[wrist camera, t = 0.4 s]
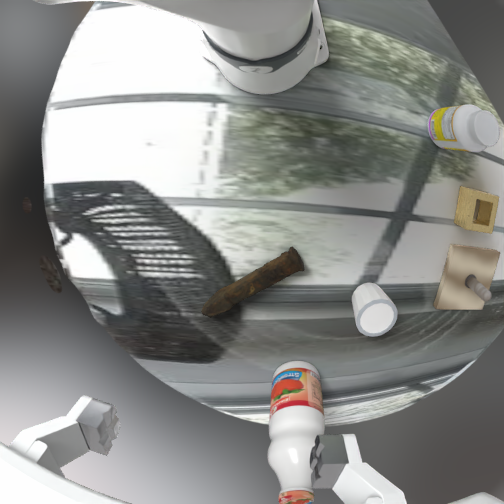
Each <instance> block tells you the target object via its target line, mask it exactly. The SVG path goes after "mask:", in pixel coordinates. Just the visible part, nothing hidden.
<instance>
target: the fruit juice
mask: <svg viewBox="0 0 504 504" xmlns="http://www.w3.org/2000/svg"><path fill="white" fill-rule="evenodd" d="M324 432H325V420H324V410H323V400H322V391H321V381H320V375H319V372H318V370H317V369H316V368H315V367H314V366H313V365H312V364H310V363H308V362H304V361H291V362H287V363H285V364H283V365H281V366H280V367H278V368H277V370H276V371H275V373H274V375H273V379H272V393H271V407H270V420H269V436H270V439H271V441H272V442H271V444H270V446H269V449H268V462H269V464H270V466H271V467H272V469H273V470H274V471H275V473H276V474H277V477H278V479H279V482H280V485H281V489H282V490H281V492H280V493H279V503H280V504H311V503H312V502H313V500H314V493H313V490H312V483H311V474H312V472H313V470H312V469H311V468H310V453H311V450H312V447H313V446H315V438H316V436H317V435H324Z"/></svg>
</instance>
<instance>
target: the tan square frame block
mask: <svg viewBox="0 0 504 504" xmlns="http://www.w3.org/2000/svg"><path fill="white" fill-rule="evenodd" d="M477 199H479V200H480V206H479V211H478V216H477V220H475V219H473V217H474V211H475V206H476V200H477ZM498 201H499V197H498V196H495V195H492V194H490V193H487V192H483V191H479V190H475V189H471V188H467V187H462V186H460V191H459V197H458V203H457V209H456V215H455V220H454V223H455V224H457V225H459V226H460V227H462V228H464V229H466V230H472V231H478V232H484V233H490V234H492V231H493V227H494V222H495V217H496V212H497V207H498Z"/></svg>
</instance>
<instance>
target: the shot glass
mask: <svg viewBox="0 0 504 504" xmlns="http://www.w3.org/2000/svg"><path fill="white" fill-rule="evenodd" d="M352 305H353V310H354V316H355V321H356V326H357V328H358V330H359V331H360V332H361V333H362V334H364V335H365V336H372V337H374V336H379V335H382V334H384V333H386V332H388V331H389V330H390V329H391V328H392V327H393V326H394V324H395V322H396V320H397V309H396V306H395V304H394V303H393V302H392V301H391V300H390V298H389V297H388V296H387V295H386V294H385V292H384V291H383V290H382V289H381V288H380V287H379V286H378V285H377V284H375V283H364V284H362V285H360V286H358V287H357V288H356V290H355V291H354V292H353V295H352Z"/></svg>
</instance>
